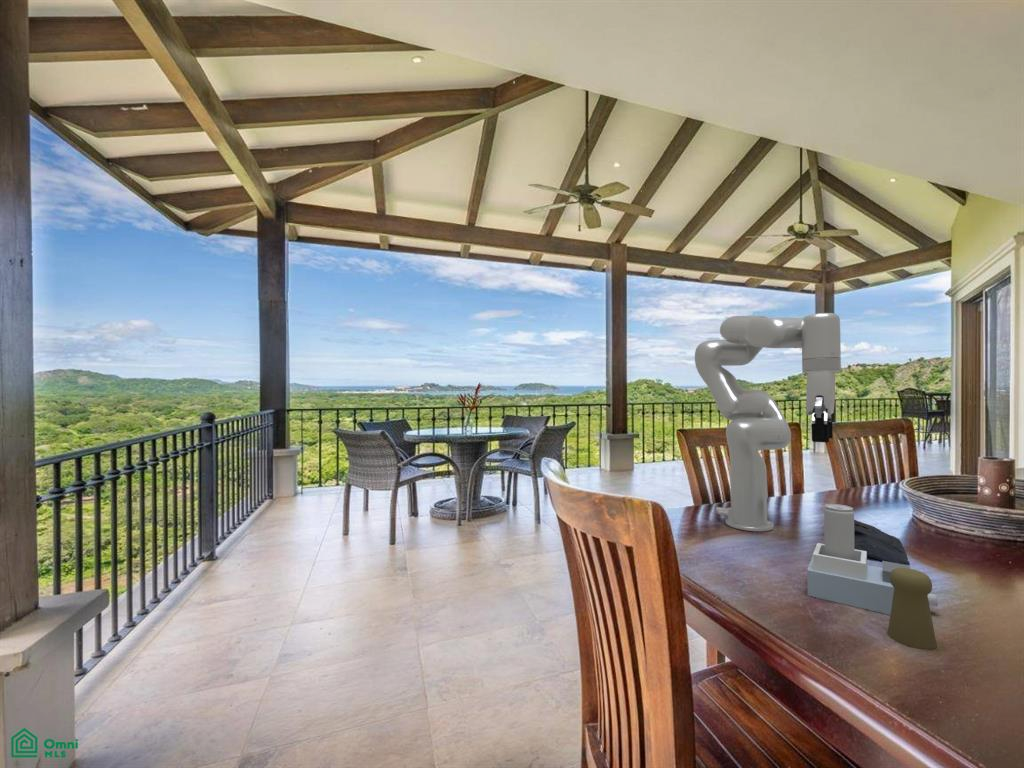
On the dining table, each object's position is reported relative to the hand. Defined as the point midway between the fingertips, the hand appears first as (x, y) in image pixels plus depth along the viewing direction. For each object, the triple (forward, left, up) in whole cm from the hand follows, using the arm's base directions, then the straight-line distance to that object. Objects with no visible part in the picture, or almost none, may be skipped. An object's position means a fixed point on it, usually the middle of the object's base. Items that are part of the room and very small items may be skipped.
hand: (822, 439), depth 107 cm
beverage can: (+4, -18, -24) cm, 30 cm away
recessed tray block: (+8, -18, -28) cm, 35 cm away
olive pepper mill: (+14, -31, -28) cm, 44 cm away
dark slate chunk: (+8, +18, -29) cm, 35 cm away
